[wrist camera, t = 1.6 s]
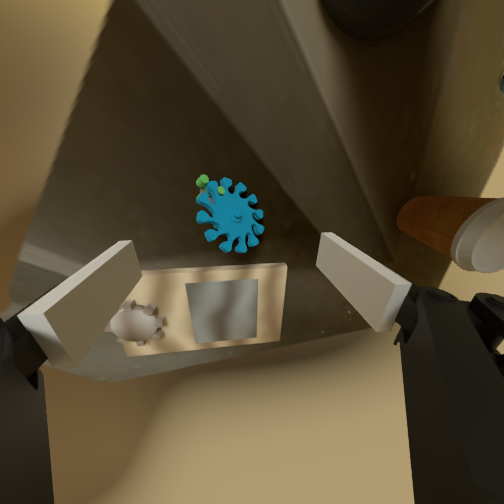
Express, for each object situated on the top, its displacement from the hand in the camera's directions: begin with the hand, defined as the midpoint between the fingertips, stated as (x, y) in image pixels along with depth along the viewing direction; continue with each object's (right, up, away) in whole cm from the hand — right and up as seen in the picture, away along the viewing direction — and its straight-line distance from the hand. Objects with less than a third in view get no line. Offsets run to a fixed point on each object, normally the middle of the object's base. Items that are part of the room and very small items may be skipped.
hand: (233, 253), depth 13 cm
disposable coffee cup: (+29, +7, +19) cm, 35 cm away
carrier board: (-8, -11, +22) cm, 25 cm away
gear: (-2, +7, +14) cm, 16 cm away
